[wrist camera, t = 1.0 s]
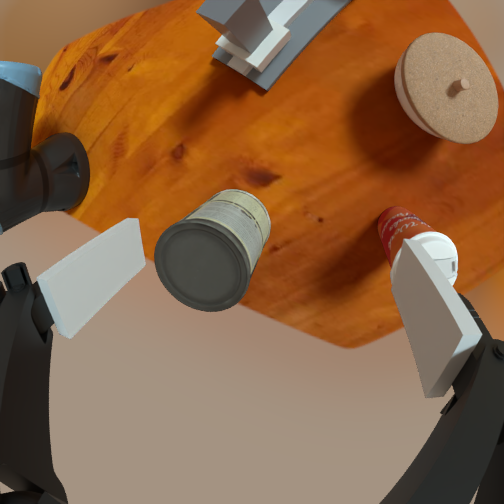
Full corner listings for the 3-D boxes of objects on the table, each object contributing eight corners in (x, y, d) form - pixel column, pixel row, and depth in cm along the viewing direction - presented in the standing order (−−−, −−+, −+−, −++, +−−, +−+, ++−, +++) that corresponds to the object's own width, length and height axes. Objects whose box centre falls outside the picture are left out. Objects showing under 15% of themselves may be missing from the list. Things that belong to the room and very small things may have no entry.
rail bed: (214, 58, 30) (206, 53, 27) (296, -31, 21) (294, -41, 19) (268, 91, 31) (264, 88, 28) (352, -1, 22) (354, -10, 20)
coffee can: (265, 262, 41) (242, 322, 29) (200, 248, 43) (155, 298, 30) (277, 195, 37) (256, 233, 24) (205, 183, 38) (152, 212, 26)
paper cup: (414, 192, 32) (461, 227, 20) (422, 243, 34) (462, 295, 22) (363, 206, 35) (387, 249, 22) (374, 256, 37) (396, 316, 25)
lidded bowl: (383, 131, 30) (412, 133, 20) (379, 43, 25) (402, 13, 15) (463, 146, 27) (508, 156, 17) (460, 62, 22) (501, 49, 12)
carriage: (225, 51, 28) (175, 15, 16) (253, 18, 25) (218, -32, 13) (263, 74, 28) (231, 41, 16) (292, 40, 26) (277, -10, 13)
